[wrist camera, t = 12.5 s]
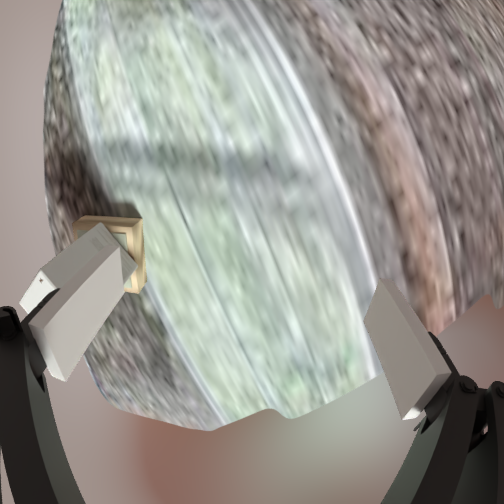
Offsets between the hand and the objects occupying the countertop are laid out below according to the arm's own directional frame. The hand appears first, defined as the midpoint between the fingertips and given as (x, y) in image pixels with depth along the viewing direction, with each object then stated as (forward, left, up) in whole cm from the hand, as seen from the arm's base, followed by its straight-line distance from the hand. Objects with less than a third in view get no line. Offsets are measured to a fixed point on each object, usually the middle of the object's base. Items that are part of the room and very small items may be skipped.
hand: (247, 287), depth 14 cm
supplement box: (+12, -22, -23) cm, 34 cm away
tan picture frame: (+12, -22, -28) cm, 37 cm away
